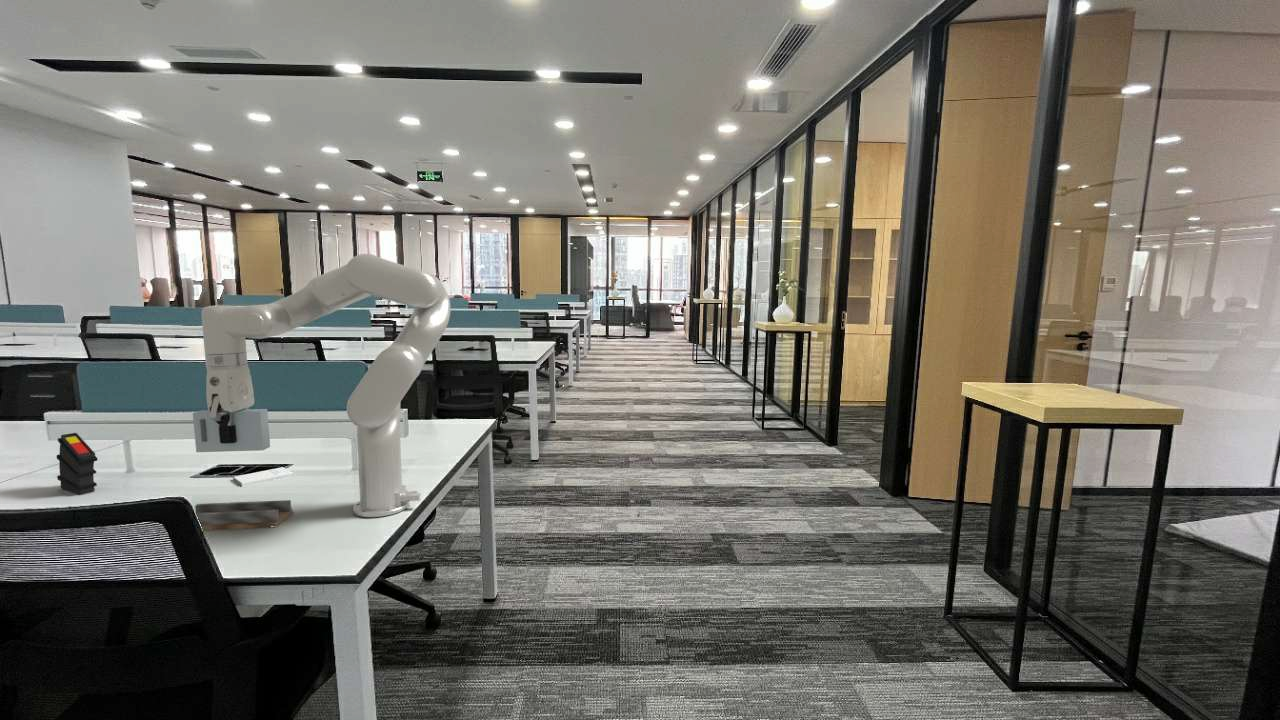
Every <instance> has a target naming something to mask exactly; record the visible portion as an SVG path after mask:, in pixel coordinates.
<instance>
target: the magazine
mask: <svg viewBox="0 0 1280 720" xmlns="http://www.w3.org/2000/svg"><path fill="white" fill-rule="evenodd" d="M57 442H58V443H59V454H56V459H57V460H58V461H59V463H58V464H59V467H58V468H59V475H57V476H56V479H57V481H59V482H60V488H61V489H62V490H65V491H67V492H71V493H74V494H76V495H84V494H89V493H93V492H95V487H97V486H98V484H97V483H96V482H95V481H94V477H95V476H94V474H97V470H95V468H94V466H95V465H94V464H95V462H97V461H98V457H97V455H96V453H95V452H94V450H92V448H91V447H90V446H89V445H88V444H87V442H86V441H85V440H84V439H83V438H82V437H81V435H79V434H78V433H77V432H73V433H72V432H70V433H66V434H61V435H60V437H59V438H57Z"/></svg>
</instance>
